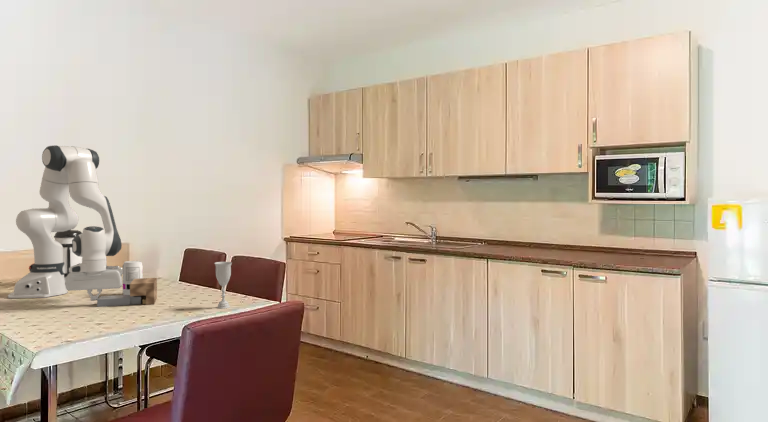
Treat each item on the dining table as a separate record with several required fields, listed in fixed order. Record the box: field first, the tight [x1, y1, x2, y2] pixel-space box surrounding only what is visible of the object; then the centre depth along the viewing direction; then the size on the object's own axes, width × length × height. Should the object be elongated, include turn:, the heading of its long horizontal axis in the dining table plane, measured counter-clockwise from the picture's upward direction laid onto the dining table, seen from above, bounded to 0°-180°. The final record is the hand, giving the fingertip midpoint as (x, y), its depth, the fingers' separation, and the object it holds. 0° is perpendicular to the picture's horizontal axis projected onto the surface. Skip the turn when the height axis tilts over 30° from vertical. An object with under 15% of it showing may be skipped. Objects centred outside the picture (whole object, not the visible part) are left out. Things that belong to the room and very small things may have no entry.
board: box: [96, 294, 143, 308], centre depth 219 cm, size 16×7×3 cm, turn 108°
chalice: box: [214, 261, 233, 309], centre depth 213 cm, size 7×7×18 cm
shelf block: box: [130, 277, 158, 306], centre depth 223 cm, size 9×14×9 cm, turn 19°
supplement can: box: [122, 260, 144, 295], centre depth 239 cm, size 8×8×15 cm
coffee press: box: [53, 229, 83, 284], centre depth 263 cm, size 17×16×30 cm
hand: (94, 300), depth 215 cm, fingers closed
